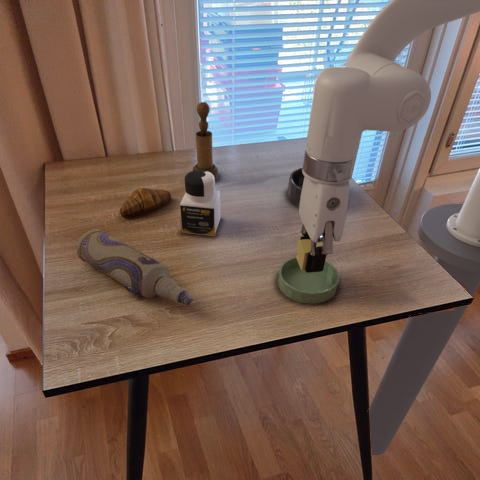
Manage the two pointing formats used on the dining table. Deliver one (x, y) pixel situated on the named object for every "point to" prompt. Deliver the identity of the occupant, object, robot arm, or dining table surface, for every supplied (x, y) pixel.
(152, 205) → the croissant
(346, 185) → the robot arm
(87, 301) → the dining table surface
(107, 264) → the decorative bottle
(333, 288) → the dish
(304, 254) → the yellow cube
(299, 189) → the bowl
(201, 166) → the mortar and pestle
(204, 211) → the medicine bottle
